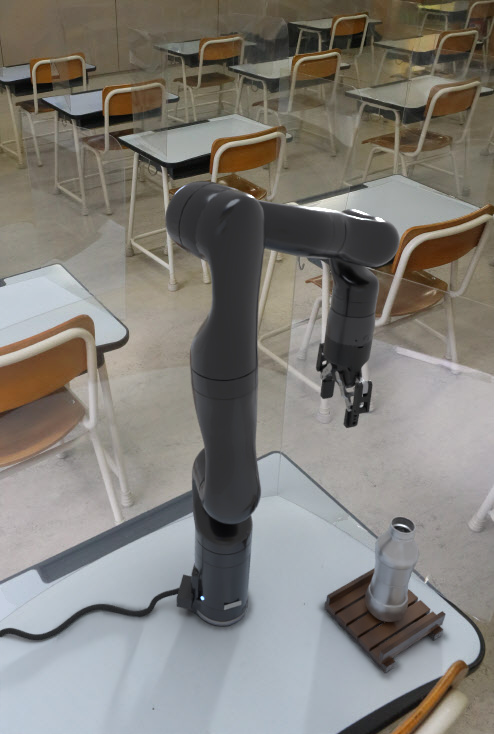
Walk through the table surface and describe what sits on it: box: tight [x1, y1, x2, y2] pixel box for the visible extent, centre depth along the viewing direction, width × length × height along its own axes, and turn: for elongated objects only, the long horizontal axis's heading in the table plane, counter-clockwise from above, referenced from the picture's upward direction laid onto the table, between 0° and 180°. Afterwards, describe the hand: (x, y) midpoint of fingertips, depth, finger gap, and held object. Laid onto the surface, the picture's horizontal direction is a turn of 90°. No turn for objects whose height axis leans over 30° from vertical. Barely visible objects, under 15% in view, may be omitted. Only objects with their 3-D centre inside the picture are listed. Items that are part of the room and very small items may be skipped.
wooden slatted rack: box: [323, 567, 446, 674], centre depth 114 cm, size 14×14×4 cm
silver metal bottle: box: [365, 515, 420, 622], centre depth 109 cm, size 6×7×20 cm
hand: (337, 411), depth 120 cm, fingers open, 8 cm apart
